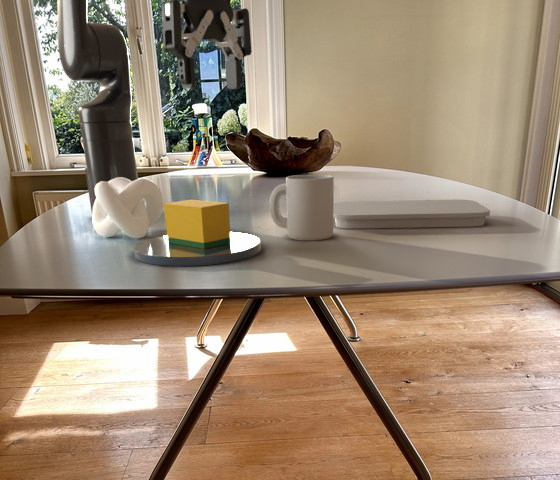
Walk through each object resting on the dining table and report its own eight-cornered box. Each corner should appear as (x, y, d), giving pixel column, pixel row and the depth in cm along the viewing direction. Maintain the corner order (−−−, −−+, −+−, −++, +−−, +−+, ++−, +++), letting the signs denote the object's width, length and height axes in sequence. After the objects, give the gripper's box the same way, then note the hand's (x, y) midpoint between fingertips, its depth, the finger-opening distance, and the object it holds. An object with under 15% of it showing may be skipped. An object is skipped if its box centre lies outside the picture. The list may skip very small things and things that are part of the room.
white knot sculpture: (157, 242, 93) (151, 182, 89) (80, 244, 93) (71, 184, 89) (169, 229, 103) (164, 175, 100) (100, 231, 103) (92, 177, 100)
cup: (330, 241, 90) (330, 179, 86) (265, 240, 92) (263, 179, 88) (335, 232, 96) (336, 174, 93) (275, 231, 98) (273, 175, 94)
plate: (109, 255, 85) (108, 246, 85) (204, 235, 97) (203, 227, 97) (191, 273, 74) (190, 263, 73) (287, 248, 86) (286, 239, 85)
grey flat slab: (331, 214, 113) (331, 202, 112) (470, 211, 111) (471, 199, 110) (331, 229, 98) (332, 215, 97) (493, 226, 96) (494, 212, 95)
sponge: (167, 242, 86) (163, 203, 84) (194, 237, 89) (190, 199, 87) (204, 249, 81) (201, 207, 79) (231, 243, 84) (228, 203, 82)
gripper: (225, -34, 87) (230, 89, 93) (143, -49, 77) (156, 89, 84) (261, -43, 82) (264, 88, 89) (179, -60, 73) (189, 87, 79)
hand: (211, 88), depth 86 cm, fingers open, 8 cm apart
